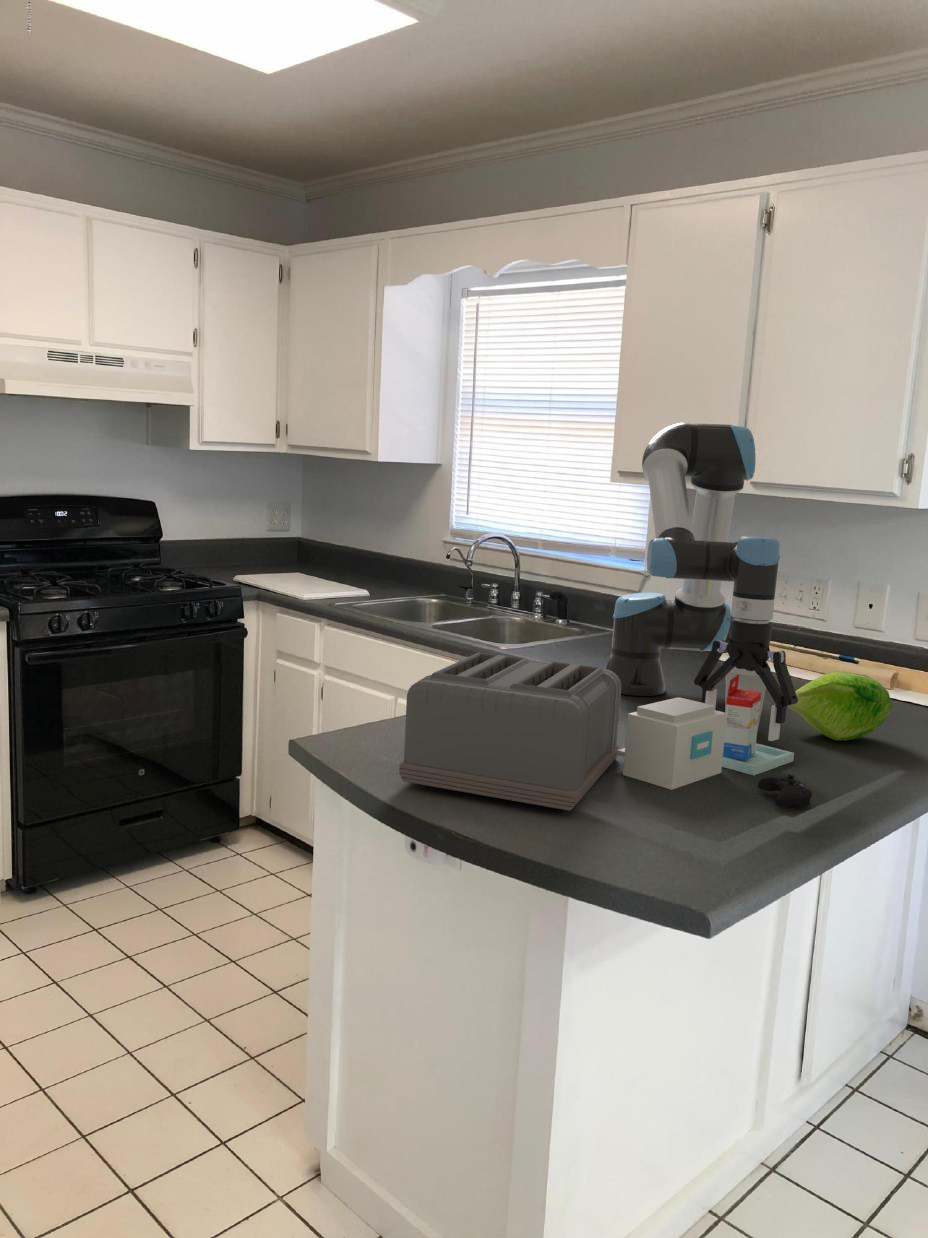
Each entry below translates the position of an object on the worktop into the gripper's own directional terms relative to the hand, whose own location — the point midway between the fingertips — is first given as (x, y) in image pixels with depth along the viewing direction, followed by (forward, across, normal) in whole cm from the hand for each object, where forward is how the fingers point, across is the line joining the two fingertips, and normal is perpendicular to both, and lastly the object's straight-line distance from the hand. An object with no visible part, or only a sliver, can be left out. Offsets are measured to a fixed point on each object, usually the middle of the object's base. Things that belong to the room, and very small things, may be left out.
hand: (740, 731), depth 191 cm
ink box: (+5, 0, 0) cm, 5 cm away
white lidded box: (+5, -2, -19) cm, 20 cm away
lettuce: (+5, +4, +33) cm, 34 cm away
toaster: (+6, -22, -38) cm, 44 cm away
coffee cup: (+5, -10, +19) cm, 22 cm away
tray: (+5, 0, 0) cm, 5 cm away
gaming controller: (+6, +17, -18) cm, 25 cm away
